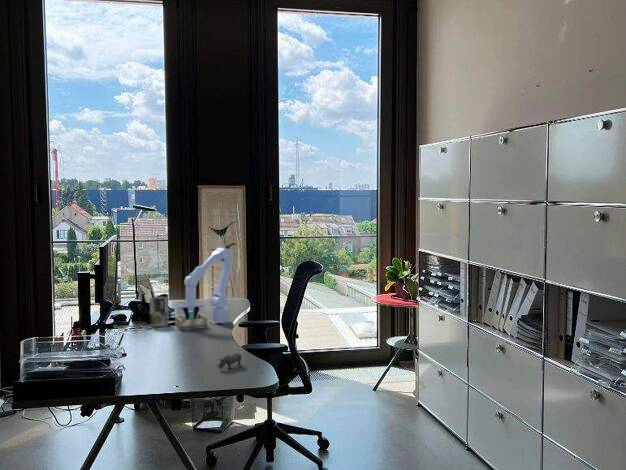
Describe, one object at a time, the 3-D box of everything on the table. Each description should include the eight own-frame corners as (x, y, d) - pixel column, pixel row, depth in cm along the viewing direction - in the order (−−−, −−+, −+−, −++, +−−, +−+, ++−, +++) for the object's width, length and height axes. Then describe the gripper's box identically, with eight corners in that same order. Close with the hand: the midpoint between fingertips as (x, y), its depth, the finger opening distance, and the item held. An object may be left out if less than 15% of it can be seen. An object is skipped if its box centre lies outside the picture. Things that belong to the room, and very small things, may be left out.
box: (201, 322, 342) (201, 313, 342) (207, 328, 329) (207, 318, 328) (175, 324, 336) (175, 315, 336) (180, 330, 323) (180, 320, 322)
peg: (193, 323, 335) (193, 311, 334) (194, 324, 331) (194, 312, 331) (187, 323, 333) (187, 311, 333) (188, 325, 330) (188, 312, 329)
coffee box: (169, 324, 338) (168, 296, 337) (165, 326, 331) (165, 298, 330) (153, 323, 339) (153, 296, 338) (149, 326, 332) (149, 298, 331)
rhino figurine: (213, 370, 251) (213, 356, 250) (238, 363, 261) (238, 350, 260) (219, 372, 248) (219, 358, 247) (244, 365, 258) (244, 352, 257)
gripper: (179, 299, 325) (179, 323, 326) (205, 297, 330) (205, 321, 331) (176, 296, 331) (177, 320, 332) (202, 295, 337) (202, 318, 338)
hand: (191, 320), depth 332 cm, fingers closed on peg, 3 cm apart
